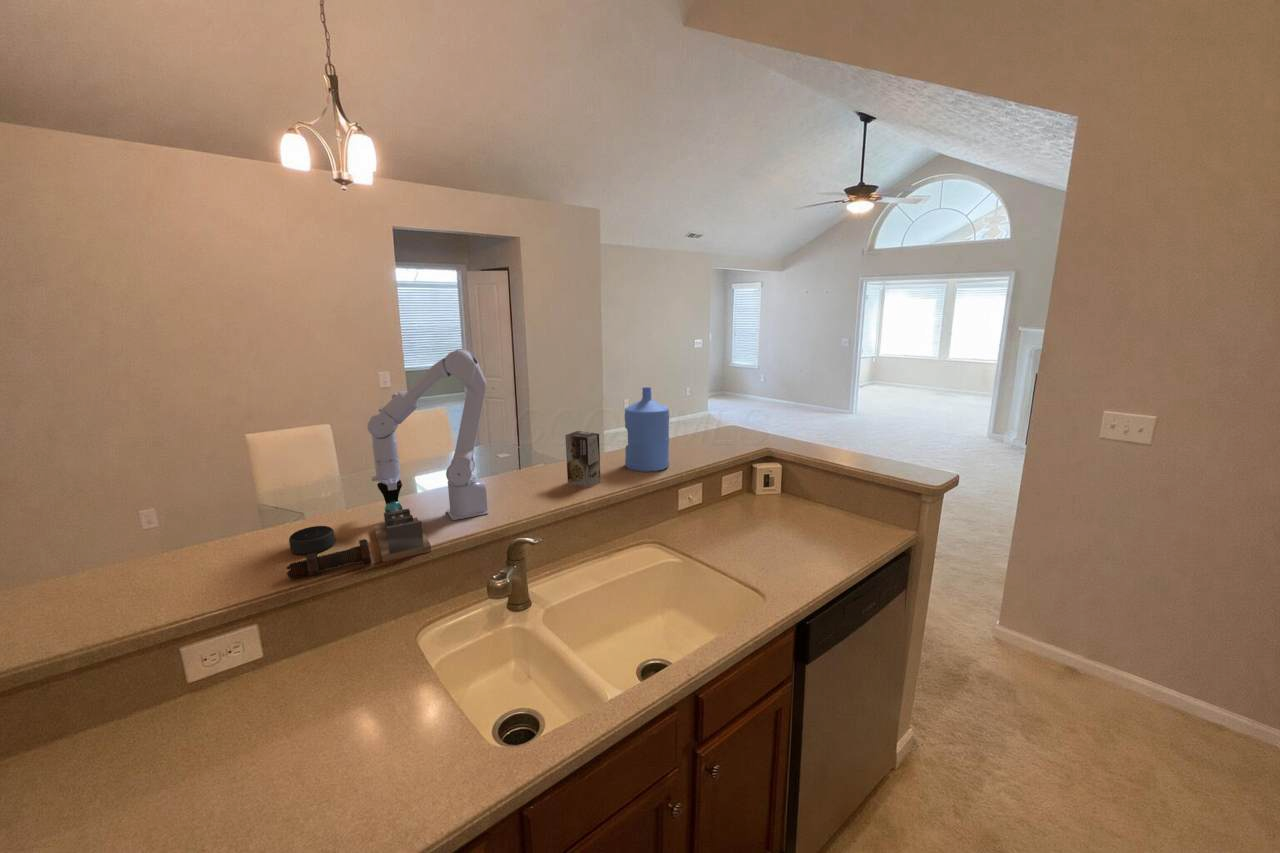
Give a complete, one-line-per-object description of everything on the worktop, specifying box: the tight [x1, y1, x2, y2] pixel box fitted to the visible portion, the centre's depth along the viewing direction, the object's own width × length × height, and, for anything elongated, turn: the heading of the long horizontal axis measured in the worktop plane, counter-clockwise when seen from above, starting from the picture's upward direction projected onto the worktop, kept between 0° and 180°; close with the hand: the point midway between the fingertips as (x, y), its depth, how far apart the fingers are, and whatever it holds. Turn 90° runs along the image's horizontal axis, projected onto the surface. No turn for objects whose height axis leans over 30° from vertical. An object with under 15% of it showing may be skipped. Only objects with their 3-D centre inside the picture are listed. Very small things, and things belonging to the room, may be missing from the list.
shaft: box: [384, 500, 404, 525], centre depth 128 cm, size 15×4×4 cm, turn 31°
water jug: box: [624, 386, 670, 473], centre depth 182 cm, size 16×16×28 cm
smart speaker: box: [288, 525, 336, 556], centre depth 121 cm, size 9×9×4 cm
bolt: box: [286, 538, 372, 579], centre depth 110 cm, size 6×5×15 cm
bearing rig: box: [373, 508, 432, 563], centre depth 124 cm, size 20×10×8 cm, turn 31°
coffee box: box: [564, 430, 601, 488], centre depth 165 cm, size 9×6×16 cm
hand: (392, 508), depth 137 cm, fingers closed
